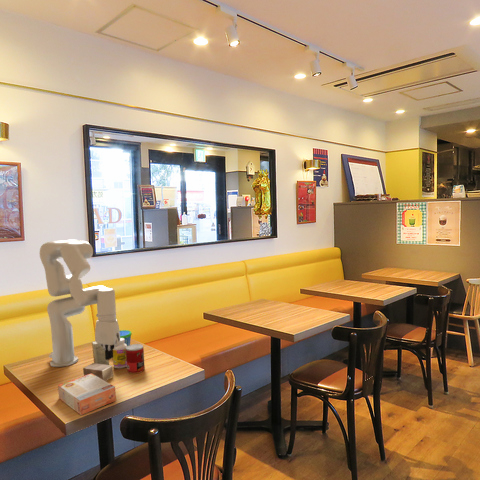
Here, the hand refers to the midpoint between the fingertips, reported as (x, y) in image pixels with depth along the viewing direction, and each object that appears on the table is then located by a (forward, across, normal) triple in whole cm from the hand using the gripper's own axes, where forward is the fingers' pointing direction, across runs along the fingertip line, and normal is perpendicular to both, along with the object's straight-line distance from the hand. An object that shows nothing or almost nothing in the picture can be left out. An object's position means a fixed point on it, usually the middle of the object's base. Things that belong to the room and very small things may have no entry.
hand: (109, 358), depth 173 cm
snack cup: (+10, -17, +30) cm, 36 cm away
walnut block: (+7, -1, 0) cm, 7 cm away
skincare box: (+10, -14, +11) cm, 20 cm away
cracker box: (+6, -6, -14) cm, 17 cm away
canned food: (+10, +5, +12) cm, 16 cm away
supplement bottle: (+10, -5, +14) cm, 18 cm away
